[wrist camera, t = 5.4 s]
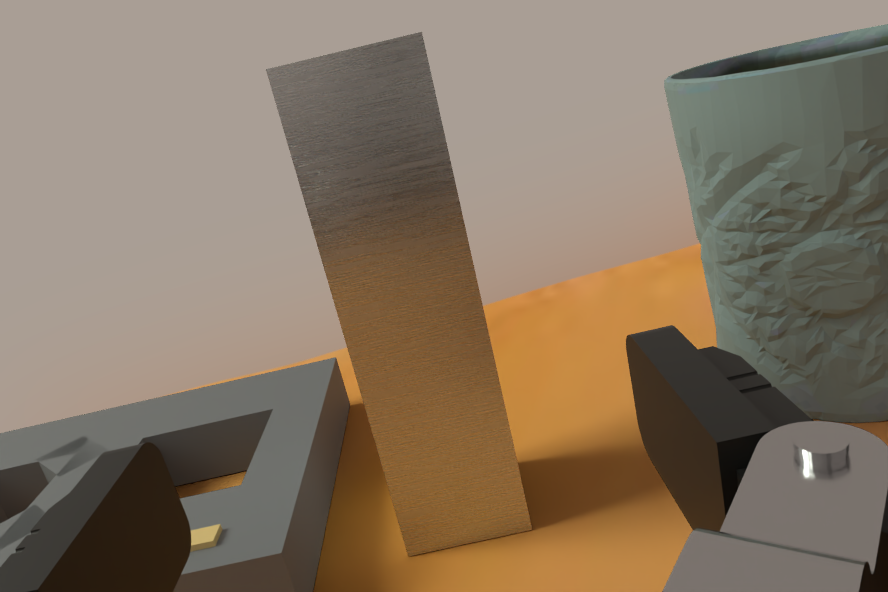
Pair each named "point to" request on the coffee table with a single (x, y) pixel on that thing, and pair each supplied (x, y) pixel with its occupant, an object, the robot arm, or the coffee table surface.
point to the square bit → (404, 287)
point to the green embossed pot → (795, 213)
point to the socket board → (207, 472)
